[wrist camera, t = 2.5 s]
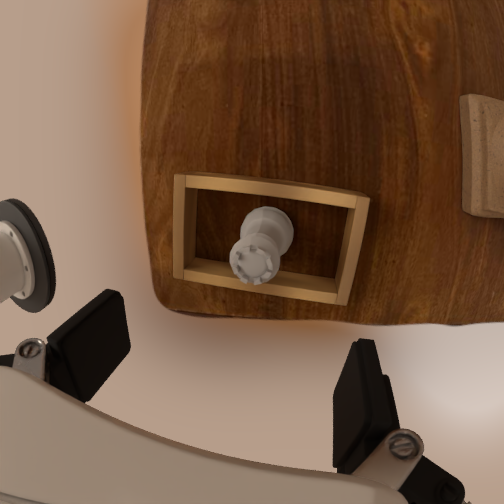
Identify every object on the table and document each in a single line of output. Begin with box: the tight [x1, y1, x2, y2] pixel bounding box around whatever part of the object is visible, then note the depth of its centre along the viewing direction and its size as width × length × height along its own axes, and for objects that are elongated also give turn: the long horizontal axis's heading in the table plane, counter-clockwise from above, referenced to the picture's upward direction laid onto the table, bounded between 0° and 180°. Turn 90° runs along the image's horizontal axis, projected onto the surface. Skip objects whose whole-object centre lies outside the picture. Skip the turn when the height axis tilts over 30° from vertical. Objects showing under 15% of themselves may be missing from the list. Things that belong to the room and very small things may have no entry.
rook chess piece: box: [230, 206, 294, 285], centre depth 21 cm, size 4×4×8 cm
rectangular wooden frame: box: [173, 171, 370, 306], centre depth 24 cm, size 15×9×3 cm, turn 85°
